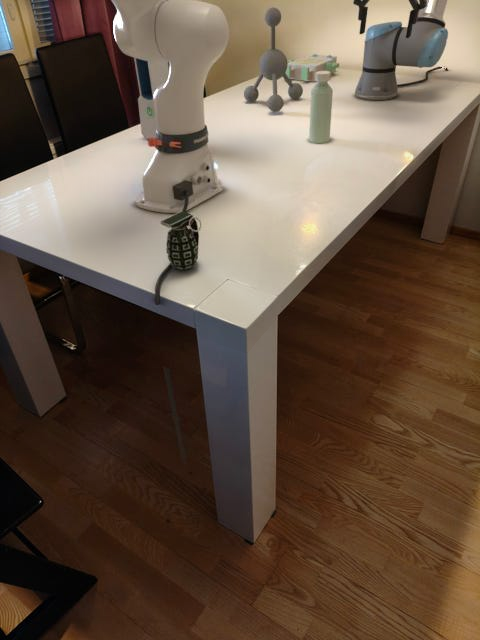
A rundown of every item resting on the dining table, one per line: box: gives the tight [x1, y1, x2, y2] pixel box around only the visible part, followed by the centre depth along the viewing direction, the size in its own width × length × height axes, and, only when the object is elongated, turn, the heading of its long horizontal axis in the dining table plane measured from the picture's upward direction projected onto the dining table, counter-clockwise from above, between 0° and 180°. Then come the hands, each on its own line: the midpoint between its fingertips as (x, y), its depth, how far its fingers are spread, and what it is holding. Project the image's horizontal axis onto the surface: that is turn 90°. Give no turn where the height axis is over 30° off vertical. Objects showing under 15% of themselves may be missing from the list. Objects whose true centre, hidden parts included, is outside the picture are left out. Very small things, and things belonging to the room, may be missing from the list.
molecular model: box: [243, 6, 304, 113], centre depth 169 cm, size 24×22×30 cm
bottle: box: [308, 81, 334, 144], centre depth 139 cm, size 6×6×18 cm
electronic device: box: [133, 57, 170, 140], centre depth 143 cm, size 12×8×30 cm, turn 47°
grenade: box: [159, 211, 202, 271], centre depth 88 cm, size 7×6×10 cm
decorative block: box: [285, 53, 340, 82], centre depth 209 cm, size 26×6×20 cm
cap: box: [314, 71, 331, 82], centre depth 134 cm, size 4×4×2 cm
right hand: (384, 35), depth 142 cm, fingers open, 13 cm apart
